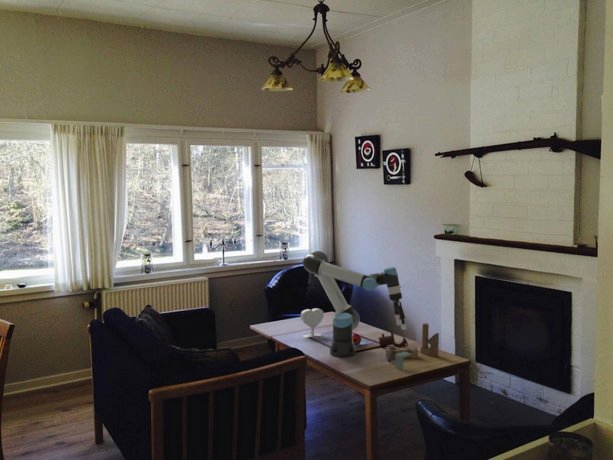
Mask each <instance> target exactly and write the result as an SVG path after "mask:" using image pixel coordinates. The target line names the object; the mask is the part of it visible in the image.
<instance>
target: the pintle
mask: <svg viewBox="0 0 613 460" xmlns="http://www.w3.org/2000/svg"><path fill="white" fill-rule="evenodd" d="M386 359H387V360H386V362H388V363H389V362H392V359H391V349H387V357H386Z"/></svg>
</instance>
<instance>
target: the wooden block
mask: <svg viewBox="0 0 613 460" xmlns="http://www.w3.org/2000/svg"><path fill="white" fill-rule="evenodd" d="M429 325H430V324H429V323H426V322H425V323H422V329H421V331H422V333H421V335H422V336H421V340H422V341H421V346H420V353H421V354H424V355H426V356H430V357H433V358H437V357H439V347H440V346H439V342H440V339H439V338H440V333H439V332H438V333H434V334H433V335H432V336H430V338H429V330H430V329H429V327H430V326H429ZM429 346H430V347H429Z"/></svg>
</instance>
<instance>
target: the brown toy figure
mask: <svg viewBox="0 0 613 460" xmlns="http://www.w3.org/2000/svg"><path fill="white" fill-rule="evenodd" d="M378 340H379V346H380V347H387V346H391V345H392V346H393V347H398V348H407V347H408V346H409V343H408V341H407V339H406V338H405V337H402V342H400V343H396V341H395V334H394V332H393V331H390V335H388V336H385V333H381V337H380V336H379V337H378Z"/></svg>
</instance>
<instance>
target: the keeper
mask: <svg viewBox="0 0 613 460" xmlns="http://www.w3.org/2000/svg"><path fill="white" fill-rule="evenodd" d="M408 356H411V354H410V353H408V352H402V353H398V354H396V355H395V359H394V361H395V365H394V367H395V368H396V369H399V370H403V369H404V359H406V358H405V357H408Z"/></svg>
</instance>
